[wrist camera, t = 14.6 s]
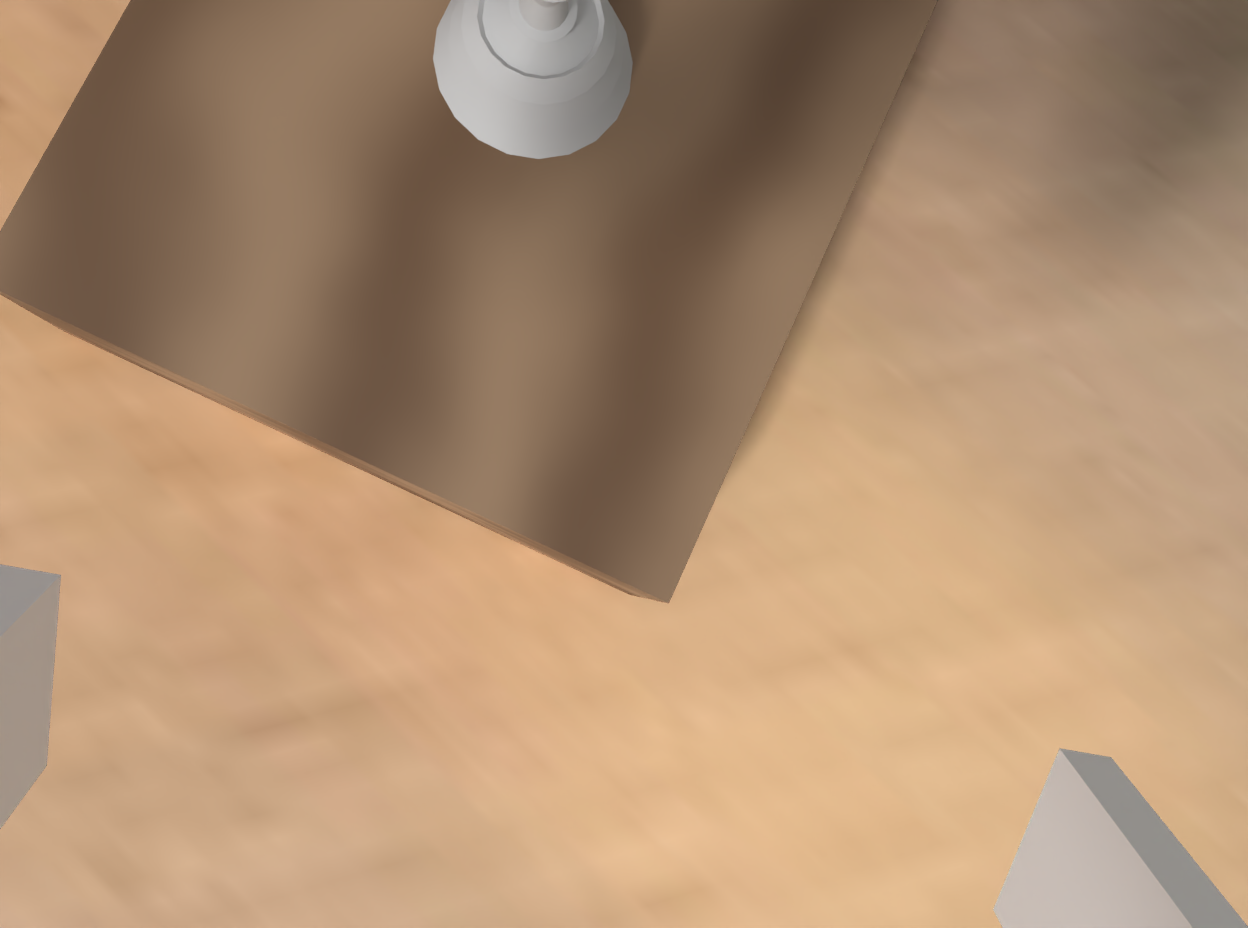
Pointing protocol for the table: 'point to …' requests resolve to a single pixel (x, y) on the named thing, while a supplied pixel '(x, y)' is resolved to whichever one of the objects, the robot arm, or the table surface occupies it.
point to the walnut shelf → (465, 248)
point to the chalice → (533, 72)
